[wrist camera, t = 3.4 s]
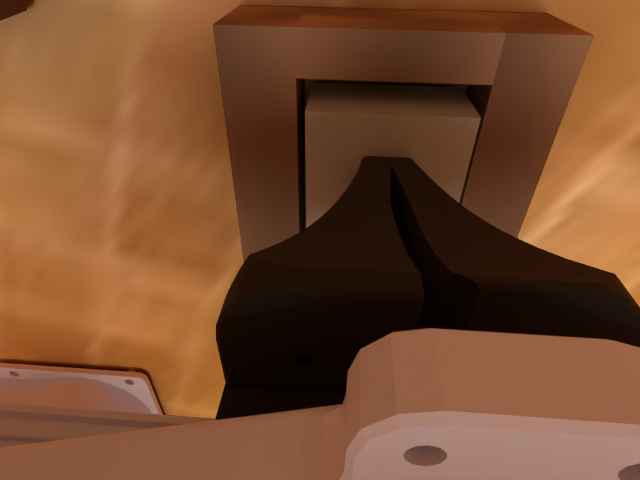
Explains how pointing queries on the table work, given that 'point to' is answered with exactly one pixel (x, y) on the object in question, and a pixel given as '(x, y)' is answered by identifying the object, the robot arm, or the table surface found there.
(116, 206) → the table surface
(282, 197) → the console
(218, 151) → the table surface
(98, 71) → the table surface
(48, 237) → the table surface
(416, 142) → the key slate
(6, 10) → the beer bottle
